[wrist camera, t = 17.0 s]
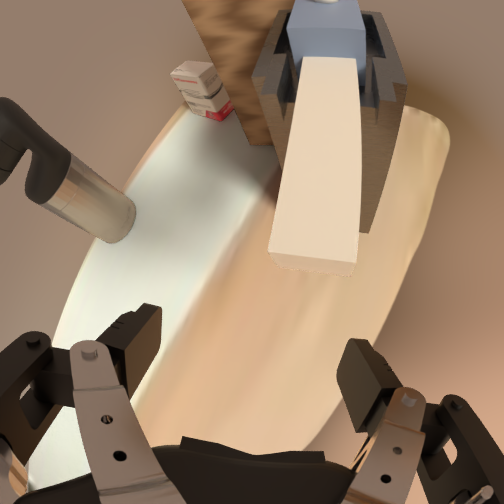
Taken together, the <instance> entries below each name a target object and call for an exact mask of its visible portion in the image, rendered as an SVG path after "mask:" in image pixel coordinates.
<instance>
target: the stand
mask: <svg viewBox="0 0 504 504" xmlns="http://www.w3.org/2000/svg"><path fill="white" fill-rule="evenodd" d="M182 2H183V4H184V6H185V8H186V10H187V12H188V14H189V16H190V18H191V20H192V22H193V24H194V26H195V28H196V29H197V31H198V33H199V35H200V37H201V39H202V41H203V43H204V46H205V47H206V50H207V52H208V54H209V56H210V58H211V60H212V62H213V64H214V66H215V68H216V70H217V73H218V75H219V77H220V79H221V81H222V83H223V85H224V87H225V90H226V92H227V94H228V96H229V98H230V101H231V103H232V105H233V107H234V109H235V112H236V114H237V116H238V118H239V121H240V123H241V125H242V127H243V130H244V132H245V134H246V137H247V139H248V141H249V143H250V145H274V144H273V140H272V137H271V134H270V131H269V128H268V125H267V122H266V119H265V116H264V113H263V110H262V107H261V104H260V101H259V98H258V95H257V93H256V90H255V87H254V84H253V81H252V78H251V76H252V74H253V71H254V69H255V66H256V64H257V61H258V58H259V56H260V53H261V51H262V48H263V46H264V44H265V41H266V39H267V36H268V34H269V32H270V29H271V27H272V24H273V22H274V20H275V18H276V15H277V13H278V11H279V10H287V9H293V6H294V3H295V0H182Z"/></svg>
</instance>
